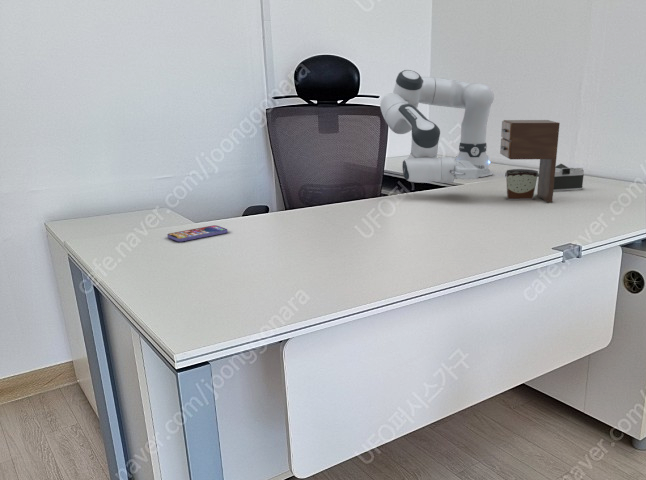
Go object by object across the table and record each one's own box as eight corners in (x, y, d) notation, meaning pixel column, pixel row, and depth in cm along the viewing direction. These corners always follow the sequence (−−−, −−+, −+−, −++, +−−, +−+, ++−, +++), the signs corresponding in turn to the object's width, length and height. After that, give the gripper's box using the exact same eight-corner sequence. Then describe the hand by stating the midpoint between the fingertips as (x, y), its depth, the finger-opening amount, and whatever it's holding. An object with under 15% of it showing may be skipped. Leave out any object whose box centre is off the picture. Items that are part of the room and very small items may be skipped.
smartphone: (229, 232, 167) (179, 242, 157) (215, 227, 172) (166, 237, 162) (229, 229, 167) (178, 239, 156) (215, 224, 171) (165, 233, 161)
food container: (532, 196, 220) (534, 168, 216) (537, 199, 214) (539, 171, 211) (499, 196, 219) (501, 169, 215) (503, 199, 213) (505, 171, 210)
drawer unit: (495, 195, 221) (499, 120, 211) (541, 195, 221) (547, 120, 212) (503, 203, 207) (508, 122, 198) (552, 202, 208) (559, 122, 199)
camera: (573, 186, 240) (575, 160, 237) (585, 189, 233) (588, 163, 229) (538, 188, 236) (540, 162, 232) (550, 191, 228) (552, 165, 225)
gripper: (452, 164, 201) (492, 164, 202) (444, 157, 220) (481, 157, 221) (452, 183, 203) (491, 183, 204) (444, 174, 222) (480, 174, 223)
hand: (486, 169), depth 212 cm, fingers open, 8 cm apart
